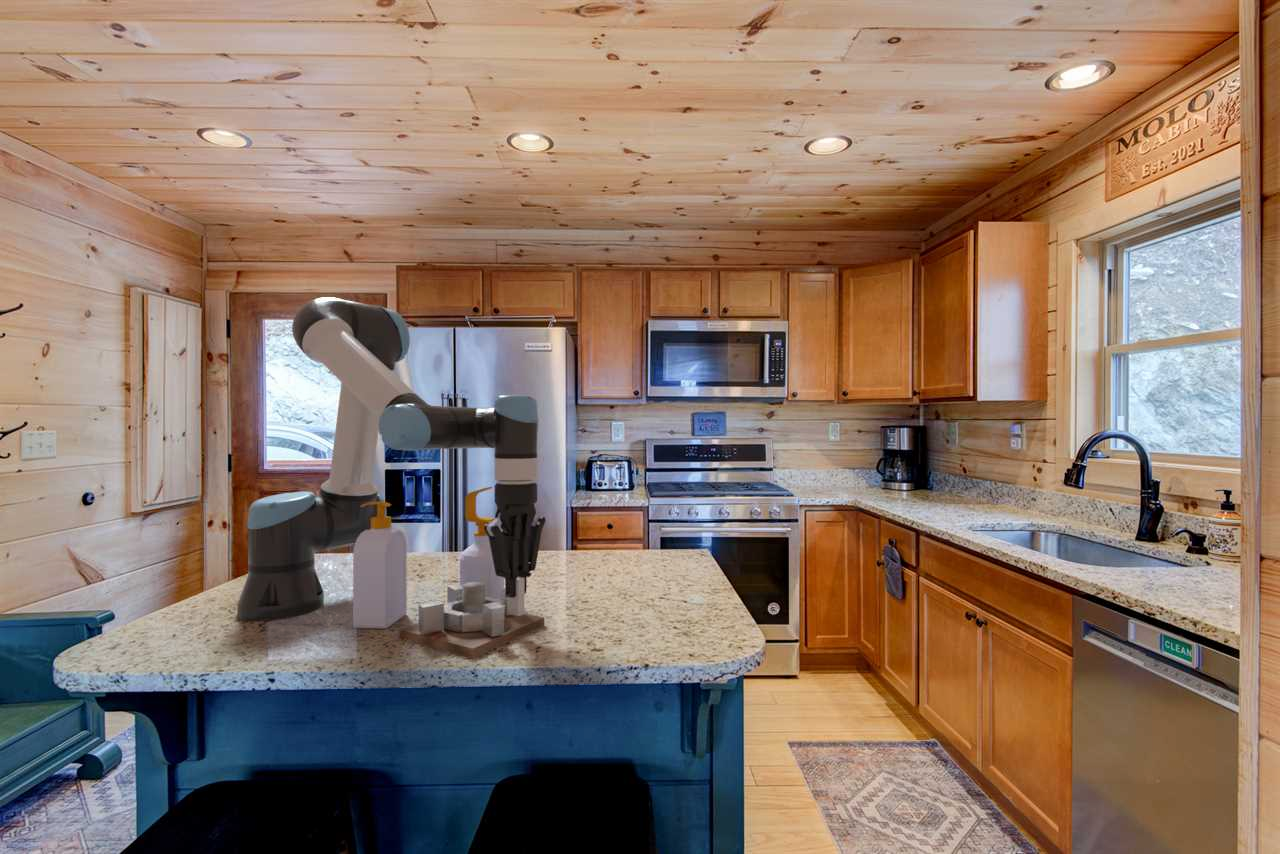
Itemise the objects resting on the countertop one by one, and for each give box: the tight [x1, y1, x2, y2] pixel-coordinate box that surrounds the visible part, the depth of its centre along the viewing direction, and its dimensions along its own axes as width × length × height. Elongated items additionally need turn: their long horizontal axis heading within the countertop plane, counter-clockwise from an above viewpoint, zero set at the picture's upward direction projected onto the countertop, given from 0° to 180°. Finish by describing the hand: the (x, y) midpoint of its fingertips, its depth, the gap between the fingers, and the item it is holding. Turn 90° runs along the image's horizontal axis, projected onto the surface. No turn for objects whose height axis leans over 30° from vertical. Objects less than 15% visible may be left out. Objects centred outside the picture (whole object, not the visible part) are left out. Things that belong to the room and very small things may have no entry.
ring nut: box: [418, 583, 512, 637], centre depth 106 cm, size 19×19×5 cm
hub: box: [398, 582, 545, 659], centre depth 106 cm, size 18×18×8 cm
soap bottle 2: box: [459, 486, 505, 599], centre depth 125 cm, size 9×9×25 cm
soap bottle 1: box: [352, 501, 408, 629], centre depth 112 cm, size 9×7×23 cm
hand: (516, 613), depth 104 cm, fingers closed
